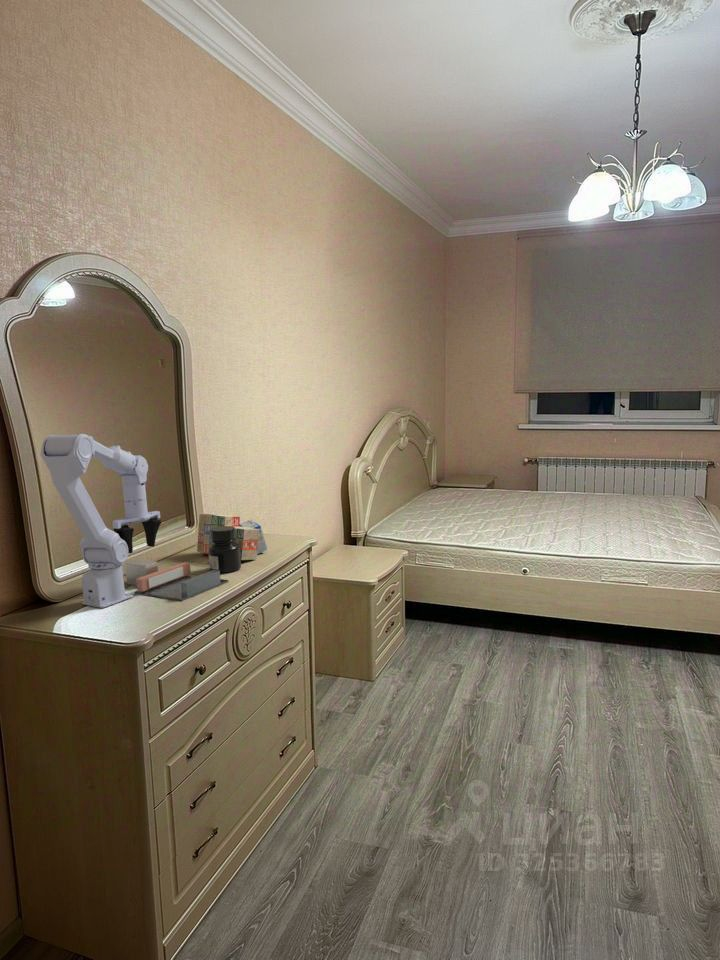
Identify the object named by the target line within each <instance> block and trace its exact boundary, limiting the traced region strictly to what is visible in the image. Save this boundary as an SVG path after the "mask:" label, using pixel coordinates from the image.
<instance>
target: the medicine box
mask: <svg viewBox="0 0 720 960" xmlns="http://www.w3.org/2000/svg"><path fill="white" fill-rule="evenodd" d="M239 527H247V528H253V529H259V538H258V547H257V555H258V554H261V553H264V552H266V551H268V546H267V542H266V539H265V535H264V532H263V529H262V526H261V525H260V524H258V523H257V522H255V521H254V520H252V519H249V520H245V521H242V522H241V523H239Z"/></svg>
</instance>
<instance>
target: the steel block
mask: <svg viewBox="0 0 720 960" xmlns="http://www.w3.org/2000/svg"><path fill="white" fill-rule="evenodd" d="M124 564H125V576H126V584H129V585H134V586H137V581H136V579H137V578H140V577H143V576H146V575H149V574H152V573H154V572H157V571H159V569H158V561H155V560H149V559H140V558H135V559H131V560H128V561H125V563H124Z"/></svg>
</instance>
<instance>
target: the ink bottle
mask: <svg viewBox="0 0 720 960" xmlns="http://www.w3.org/2000/svg"><path fill="white" fill-rule="evenodd" d="M211 540H212V543H213V544H212V545H211V546H210V547H209V549H208V552H209V554H208V564H209V565H208V566H209V571H212V570H220V574H227V573H233V572H237V571H239V570H240V569H241V568H242V560H241V557H240V546H239V545H238V544H237V543H236V542H234V541H235V527H233V526H220V527H215V528H212V529H211Z"/></svg>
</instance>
